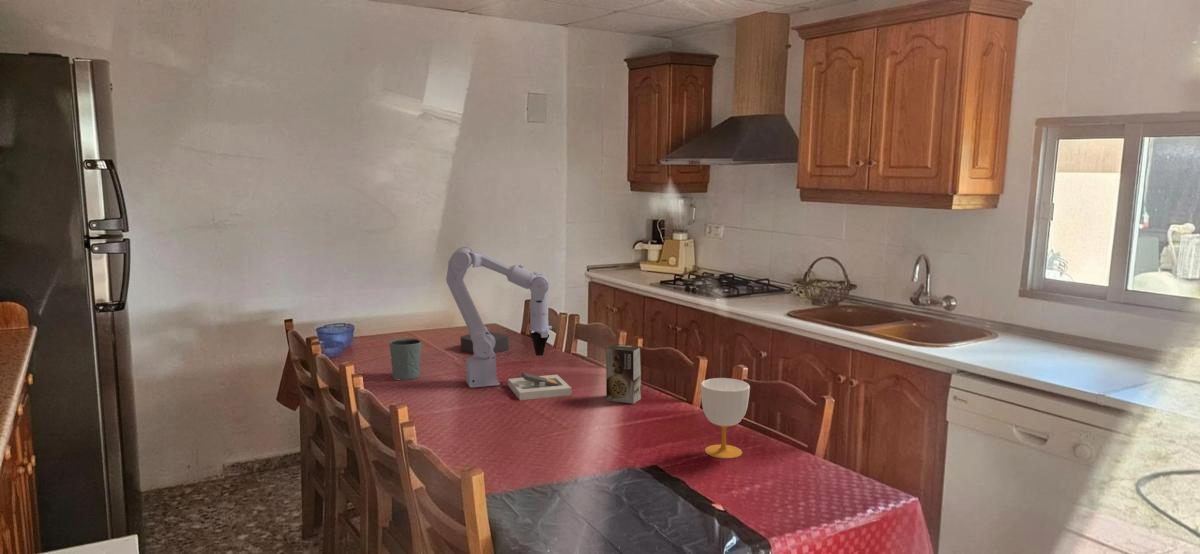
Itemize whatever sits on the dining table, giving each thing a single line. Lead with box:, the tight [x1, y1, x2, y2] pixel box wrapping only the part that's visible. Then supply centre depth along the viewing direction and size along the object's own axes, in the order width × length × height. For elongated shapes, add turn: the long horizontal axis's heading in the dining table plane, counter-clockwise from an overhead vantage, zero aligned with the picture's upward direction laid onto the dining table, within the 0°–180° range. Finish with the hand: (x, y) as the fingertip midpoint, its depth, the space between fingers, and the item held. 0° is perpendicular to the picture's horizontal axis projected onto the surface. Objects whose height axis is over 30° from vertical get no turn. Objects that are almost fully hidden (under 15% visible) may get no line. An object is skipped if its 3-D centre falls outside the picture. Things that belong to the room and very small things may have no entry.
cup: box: [700, 377, 751, 460], centre depth 190 cm, size 12×12×17 cm
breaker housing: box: [507, 374, 573, 401], centre depth 242 cm, size 16×16×4 cm
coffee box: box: [605, 343, 642, 405], centre depth 233 cm, size 9×6×16 cm
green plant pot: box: [388, 338, 422, 381], centre depth 257 cm, size 10×10×12 cm
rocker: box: [520, 371, 559, 387], centre depth 242 cm, size 11×5×1 cm, turn 109°
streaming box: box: [460, 331, 510, 354], centre depth 296 cm, size 14×14×5 cm
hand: (539, 355), depth 250 cm, fingers closed
